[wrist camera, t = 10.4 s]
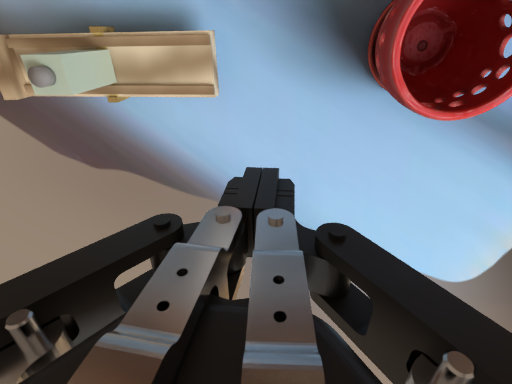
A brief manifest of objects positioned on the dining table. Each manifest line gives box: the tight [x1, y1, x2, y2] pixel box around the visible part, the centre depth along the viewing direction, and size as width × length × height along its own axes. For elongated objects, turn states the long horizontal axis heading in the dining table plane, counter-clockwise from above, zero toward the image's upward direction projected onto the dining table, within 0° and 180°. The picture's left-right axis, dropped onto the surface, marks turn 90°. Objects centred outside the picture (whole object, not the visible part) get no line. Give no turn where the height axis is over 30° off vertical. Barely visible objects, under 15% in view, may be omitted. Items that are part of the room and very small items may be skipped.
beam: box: [0, 26, 219, 102], centre depth 36 cm, size 8×26×8 cm, turn 91°
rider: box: [20, 49, 117, 95], centre depth 30 cm, size 4×4×9 cm
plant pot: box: [368, 0, 512, 121], centre depth 29 cm, size 13×13×12 cm
